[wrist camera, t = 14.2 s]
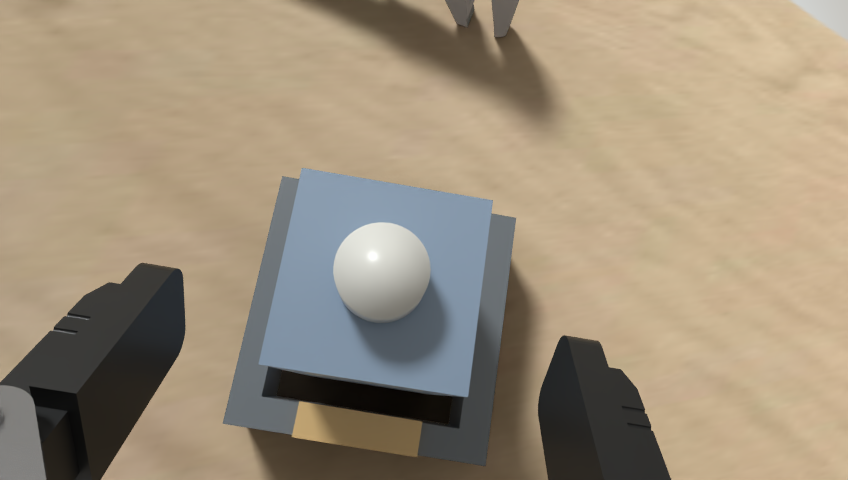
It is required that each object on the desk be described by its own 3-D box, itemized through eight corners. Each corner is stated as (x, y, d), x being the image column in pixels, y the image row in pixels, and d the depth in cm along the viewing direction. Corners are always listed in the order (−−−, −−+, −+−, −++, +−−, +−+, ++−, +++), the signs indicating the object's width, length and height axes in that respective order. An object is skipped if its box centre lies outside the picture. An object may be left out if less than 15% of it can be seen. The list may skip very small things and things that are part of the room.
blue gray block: (427, 394, 22) (476, 397, 11) (310, 376, 22) (247, 362, 11) (444, 279, 23) (501, 185, 13) (333, 261, 23) (296, 150, 12)
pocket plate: (470, 457, 22) (486, 468, 18) (243, 420, 21) (220, 425, 18) (498, 239, 24) (517, 215, 21) (293, 202, 23) (281, 173, 20)
